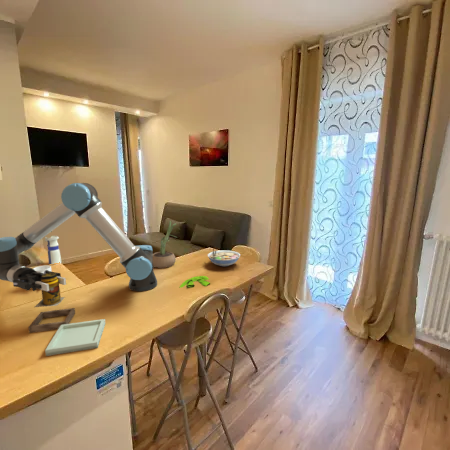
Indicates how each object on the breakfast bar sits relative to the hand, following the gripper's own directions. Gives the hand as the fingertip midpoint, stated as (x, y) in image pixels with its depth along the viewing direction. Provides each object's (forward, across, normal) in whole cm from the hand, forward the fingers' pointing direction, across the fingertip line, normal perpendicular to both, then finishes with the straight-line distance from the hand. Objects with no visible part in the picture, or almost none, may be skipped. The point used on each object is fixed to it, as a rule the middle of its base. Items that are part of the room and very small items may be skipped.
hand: (56, 284), depth 102 cm
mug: (-46, -21, -18) cm, 54 cm away
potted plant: (-9, -81, -18) cm, 84 cm away
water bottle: (-83, -49, -18) cm, 98 cm away
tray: (+14, +3, -18) cm, 23 cm away
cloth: (+28, -60, -19) cm, 69 cm away
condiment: (-5, 0, -9) cm, 10 cm away
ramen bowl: (+29, -96, -18) cm, 102 cm away
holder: (-6, 0, -18) cm, 19 cm away
